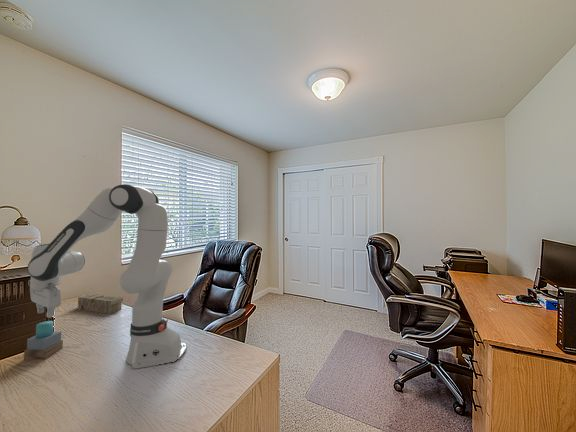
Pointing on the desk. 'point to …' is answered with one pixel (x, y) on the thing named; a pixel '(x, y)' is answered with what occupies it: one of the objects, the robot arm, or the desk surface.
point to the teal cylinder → (44, 329)
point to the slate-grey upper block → (43, 341)
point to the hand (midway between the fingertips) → (45, 314)
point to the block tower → (99, 303)
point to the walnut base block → (42, 352)
